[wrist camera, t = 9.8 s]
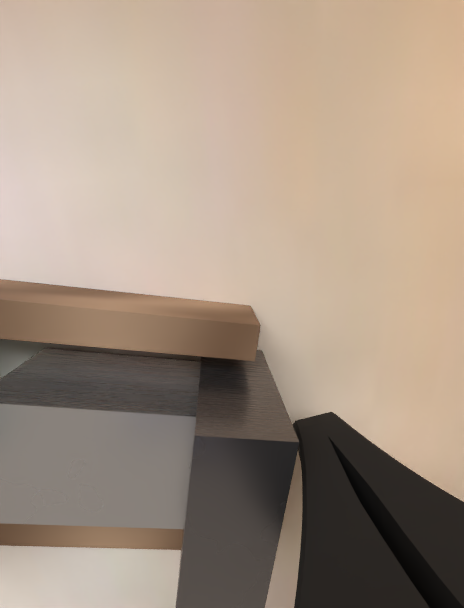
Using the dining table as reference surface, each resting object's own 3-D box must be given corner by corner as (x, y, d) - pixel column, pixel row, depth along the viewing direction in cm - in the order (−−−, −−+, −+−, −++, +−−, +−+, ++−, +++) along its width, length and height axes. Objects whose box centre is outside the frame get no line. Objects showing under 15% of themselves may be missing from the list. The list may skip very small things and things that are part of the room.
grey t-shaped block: (261, 350, 10) (299, 442, 6) (243, 463, 11) (263, 613, 7) (43, 330, 9) (-102, 416, 5) (47, 453, 10) (-69, 611, 6)
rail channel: (250, 305, 9) (260, 325, 7) (223, 495, 11) (225, 550, 9) (-220, 255, 8) (-355, 264, 6) (-166, 478, 10) (-257, 538, 8)
